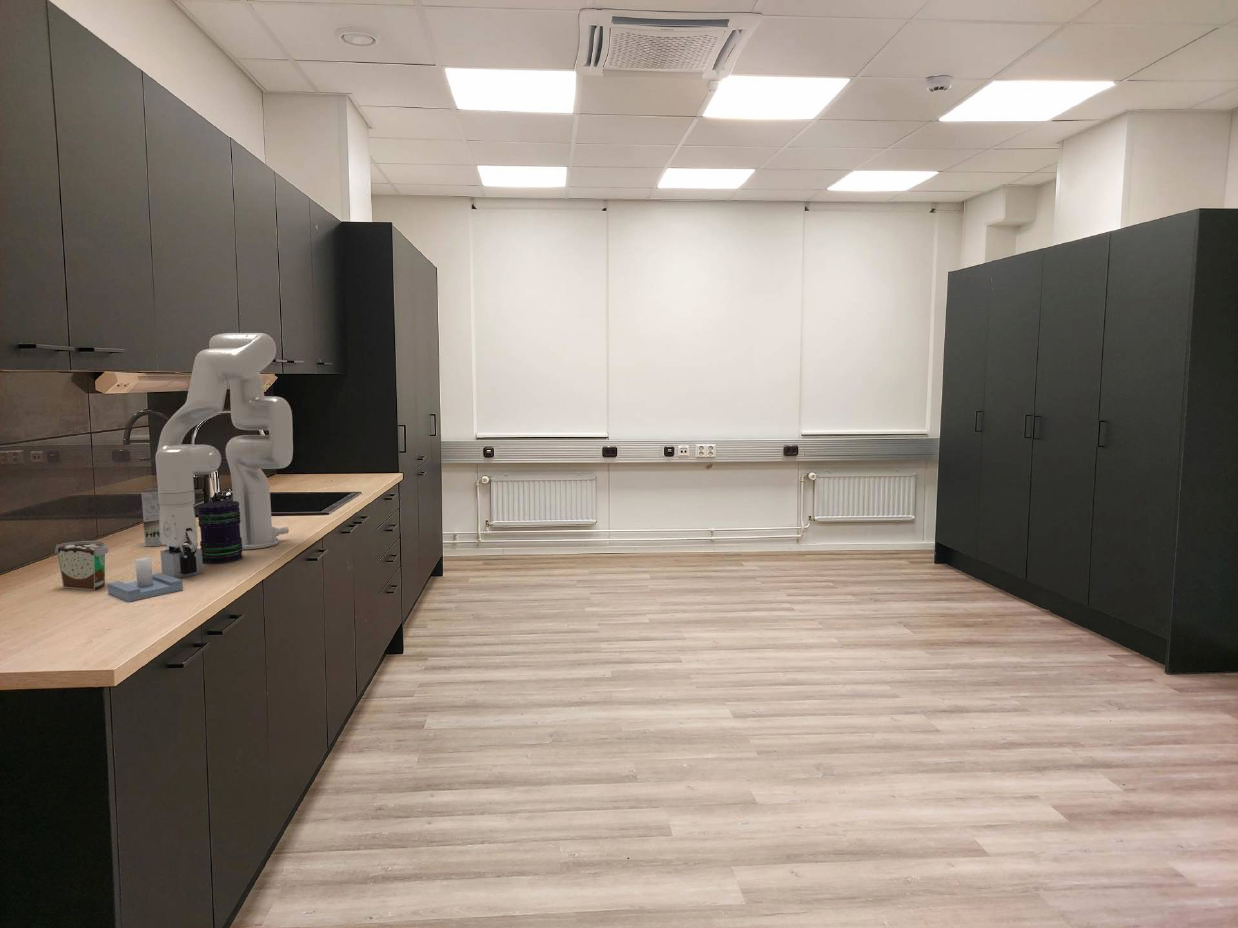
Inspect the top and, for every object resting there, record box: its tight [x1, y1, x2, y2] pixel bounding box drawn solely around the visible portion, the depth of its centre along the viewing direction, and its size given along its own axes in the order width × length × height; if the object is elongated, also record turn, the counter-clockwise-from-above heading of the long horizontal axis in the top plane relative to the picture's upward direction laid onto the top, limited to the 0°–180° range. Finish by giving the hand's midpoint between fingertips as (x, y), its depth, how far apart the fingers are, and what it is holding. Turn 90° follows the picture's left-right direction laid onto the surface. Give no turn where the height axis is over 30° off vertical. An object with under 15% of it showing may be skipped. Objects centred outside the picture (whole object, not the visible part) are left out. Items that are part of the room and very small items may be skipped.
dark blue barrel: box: [197, 500, 244, 565], centre depth 198 cm, size 10×10×15 cm
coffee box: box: [140, 486, 165, 547], centre depth 219 cm, size 9×6×16 cm
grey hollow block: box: [159, 547, 204, 579], centre depth 184 cm, size 7×7×6 cm
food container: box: [54, 540, 109, 591], centre depth 174 cm, size 12×6×10 cm, turn 74°
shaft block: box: [106, 557, 184, 603], centre depth 169 cm, size 11×11×8 cm
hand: (182, 570), depth 184 cm, fingers closed on grey hollow block, 6 cm apart
